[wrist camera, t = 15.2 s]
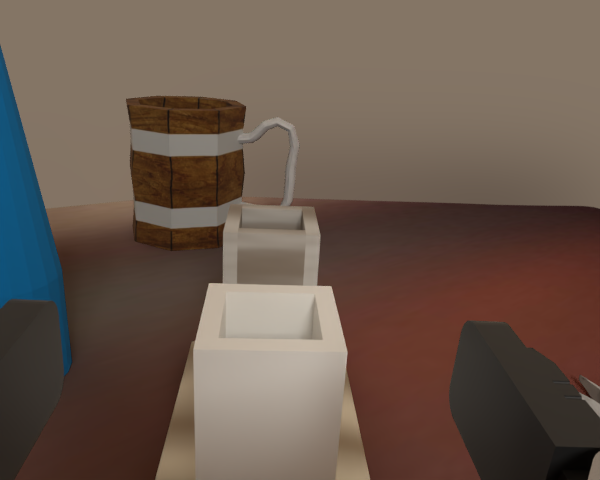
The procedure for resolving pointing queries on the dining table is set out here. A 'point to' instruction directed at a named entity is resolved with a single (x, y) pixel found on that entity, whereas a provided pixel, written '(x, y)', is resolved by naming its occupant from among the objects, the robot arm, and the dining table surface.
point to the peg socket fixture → (264, 271)
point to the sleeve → (268, 383)
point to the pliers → (591, 394)
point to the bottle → (25, 222)
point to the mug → (192, 167)
